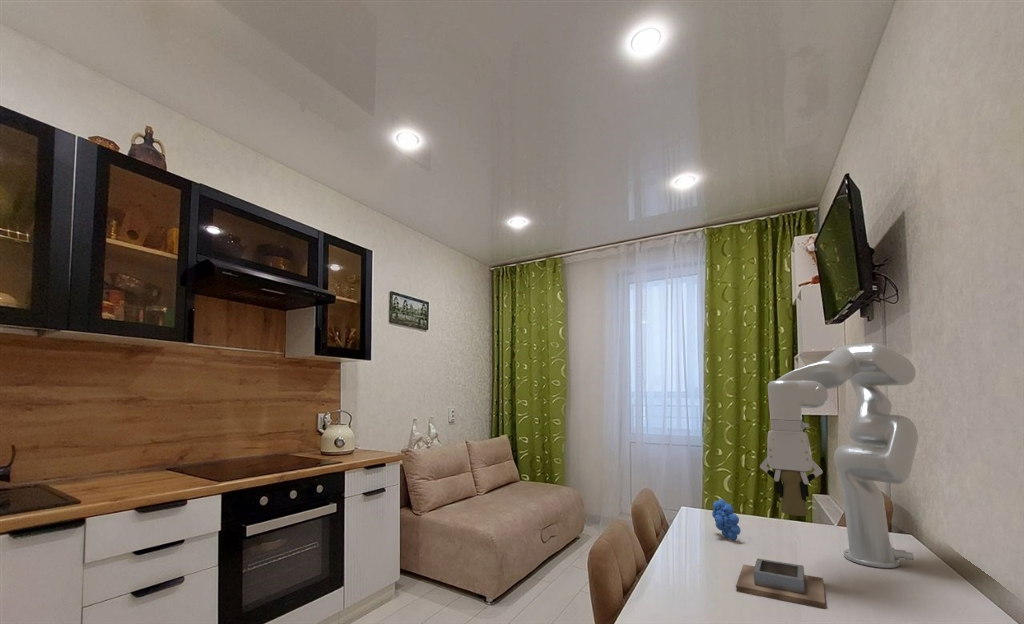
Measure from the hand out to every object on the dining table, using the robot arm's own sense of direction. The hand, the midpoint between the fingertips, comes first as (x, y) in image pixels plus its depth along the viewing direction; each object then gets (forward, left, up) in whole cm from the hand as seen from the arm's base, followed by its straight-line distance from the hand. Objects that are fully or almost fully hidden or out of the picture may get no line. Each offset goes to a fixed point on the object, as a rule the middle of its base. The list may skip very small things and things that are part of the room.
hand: (792, 497), depth 121 cm
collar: (+4, +8, -19) cm, 21 cm away
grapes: (+21, -25, -20) cm, 39 cm away
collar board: (+4, +8, -20) cm, 22 cm away
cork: (0, 0, -4) cm, 4 cm away
